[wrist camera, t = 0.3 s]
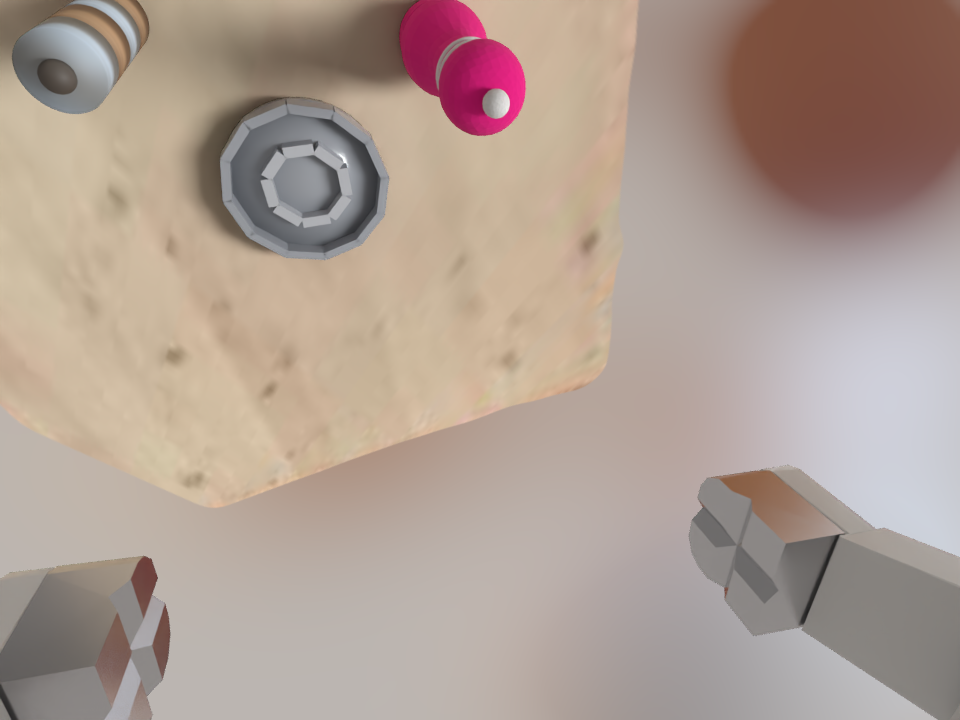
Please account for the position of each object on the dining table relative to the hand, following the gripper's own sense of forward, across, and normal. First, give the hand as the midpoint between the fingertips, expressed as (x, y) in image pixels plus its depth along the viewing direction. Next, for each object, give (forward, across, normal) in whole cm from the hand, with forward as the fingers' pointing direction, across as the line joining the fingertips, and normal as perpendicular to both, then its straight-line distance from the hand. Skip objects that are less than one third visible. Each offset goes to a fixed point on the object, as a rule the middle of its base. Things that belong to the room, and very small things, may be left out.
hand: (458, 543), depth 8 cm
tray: (+53, +4, +1) cm, 53 cm away
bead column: (+49, +17, -11) cm, 53 cm away
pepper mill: (+50, -8, -11) cm, 52 cm away
